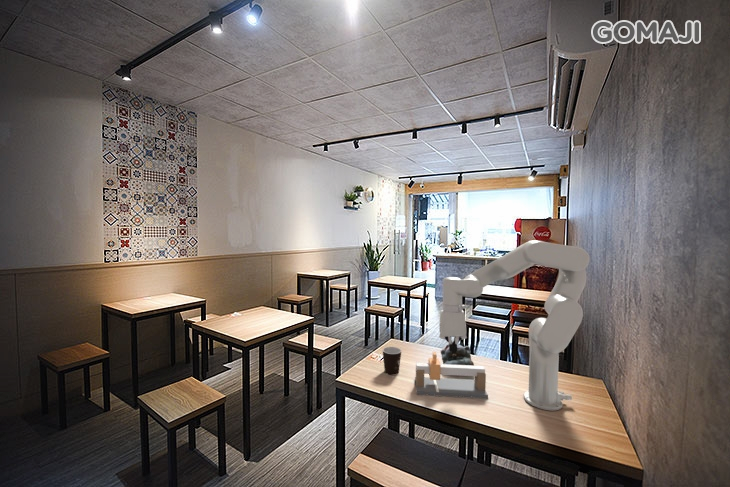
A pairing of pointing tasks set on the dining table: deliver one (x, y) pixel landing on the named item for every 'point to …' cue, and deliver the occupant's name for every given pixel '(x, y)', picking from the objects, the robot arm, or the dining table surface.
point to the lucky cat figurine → (457, 355)
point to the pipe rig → (452, 381)
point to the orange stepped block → (434, 367)
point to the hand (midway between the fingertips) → (453, 352)
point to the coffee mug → (391, 360)
